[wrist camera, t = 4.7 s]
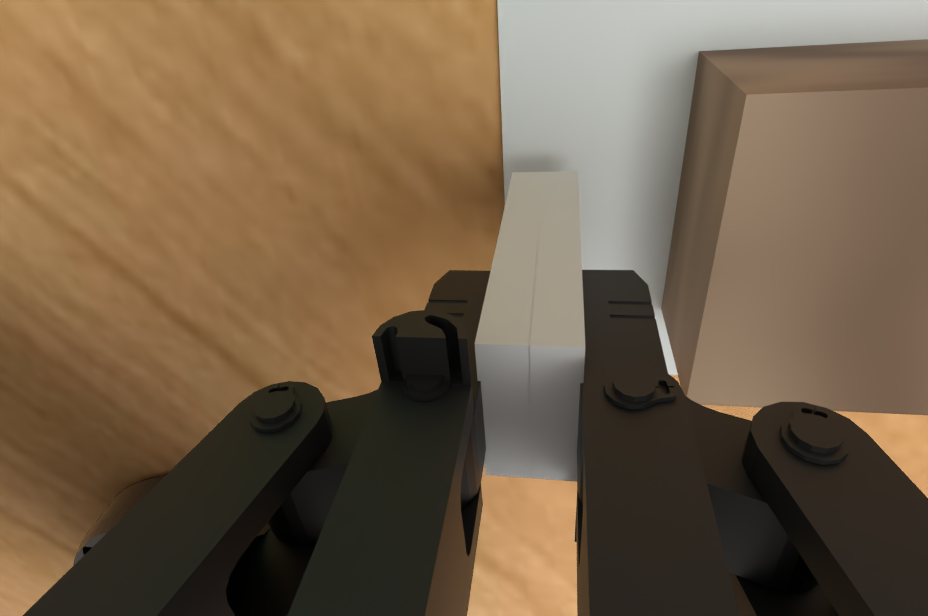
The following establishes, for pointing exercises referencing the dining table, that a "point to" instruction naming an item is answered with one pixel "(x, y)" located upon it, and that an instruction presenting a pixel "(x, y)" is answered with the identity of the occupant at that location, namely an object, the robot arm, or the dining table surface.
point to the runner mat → (643, 100)
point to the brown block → (804, 229)
